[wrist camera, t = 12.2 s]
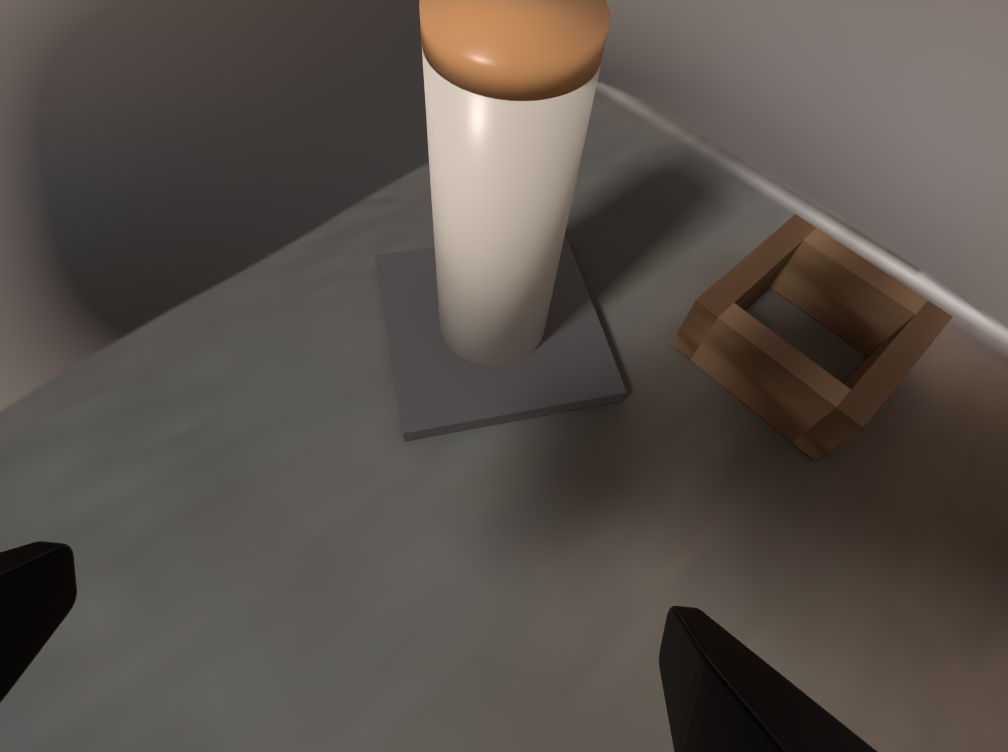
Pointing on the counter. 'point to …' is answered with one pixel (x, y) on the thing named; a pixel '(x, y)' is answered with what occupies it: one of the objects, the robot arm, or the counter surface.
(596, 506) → the counter surface
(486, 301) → the plug
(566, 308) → the mat
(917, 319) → the socket block
